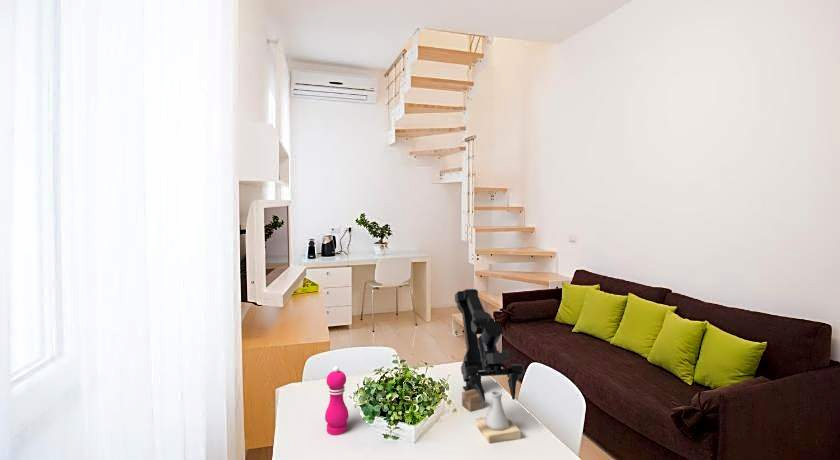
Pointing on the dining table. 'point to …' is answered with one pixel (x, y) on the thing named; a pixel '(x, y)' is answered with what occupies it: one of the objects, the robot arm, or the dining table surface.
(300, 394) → the dining table surface
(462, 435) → the dining table surface
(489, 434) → the oak block
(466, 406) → the walnut cube
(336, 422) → the pepper mill
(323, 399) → the dining table surface
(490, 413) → the flask
